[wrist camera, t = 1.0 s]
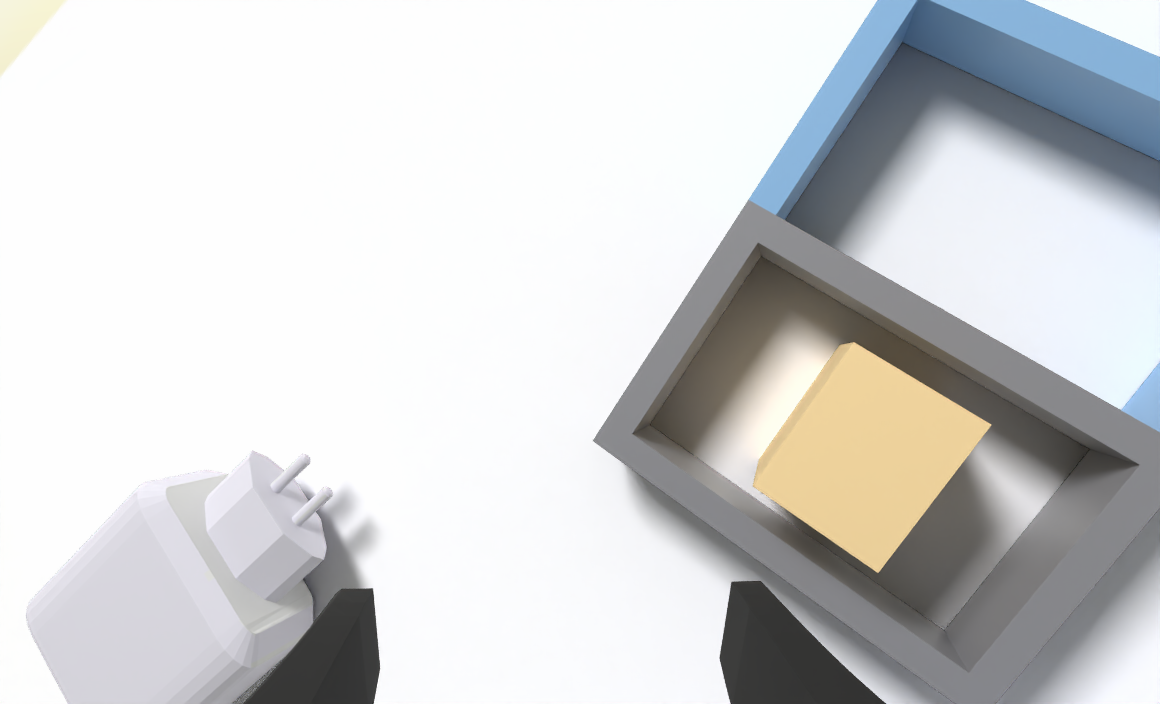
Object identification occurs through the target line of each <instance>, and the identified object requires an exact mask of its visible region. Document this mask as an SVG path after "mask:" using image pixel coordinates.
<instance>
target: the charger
mask: <svg viewBox="0 0 1160 704" xmlns="http://www.w3.org/2000/svg"><path fill="white" fill-rule="evenodd" d="M309 464H310V458H309V456H308V455H306V454H301V455H300V456H299V457H298V458H297V459H296V460H295V461H294V462H293V463H292V464H291V465H290V466H289V467H288V468H287V469H286V470H285V471H284V470H283V469H282V468H281V467H279V466H278V465H277V464H276V463H274V462H273V461H272V460H270V459H269V458H268V457H266V456H264V455H262V454H259V453H257V452H255V451H252V452H251V453H250V454H249V455H248V456H247V457H246V458H245V459H244V460H243V461H242V462H241V463H240V464H239V465H238V466H237V467H236V468H235V469H234V470H233V471H232V472H231V473H230V474H225V473H220V472H215V471H209V470H203V471H198V472H193V473H188V474H183V475H178V476H173V477H168V478H163V479H158V480H153V481H148V482H144V483H143V484H141V485H139V486H138V488H137V489H136V490H135V491H134V492H133V493H132V494H131V495H130V496H129V497H128V498H127V499H126V500H125V501H124V502H123V503H122V504H121V505H120V506H119V508H118V509H117V510H116V511H115V512H114V513H113V514H112V515H111V516H110V517H109V518H108V519H107V520H106V521H105V522H104V523H103V524H102V525H101V526H100V528H99V529H98V530H97V531H96V532H95V533H94V534H93V535H92V536H91V537H90V538H89V539H88V540H87V541H86V542H85V543H84V544H83V545H82V547H81V548H80V549H79V550H78V551H77V552H76V553H75V554H74V555H73V556H72V557H71V558H70V559H69V560H68V561H67V562H66V563H65V564H64V565H63V567H62V568H61V569H60V570H59V571H58V572H57V573H56V574H55V575H54V576H53V577H52V578H51V579H50V580H49V581H48V582H47V583H46V584H45V585H44V587H43V588H42V589H41V590H40V591H39V592H38V593H37V594H36V595H35V596H34V597H33V598H32V599H31V600H30V602H29V604H28V606H27V611H26V618H27V624H28V627H29V630H30V632H31V635H32V637H33V639H34V641H35V643H36V644H37V646H38V648H39V650H40V652H41V654H42V656H43V658H44V660H45V661H46V663H47V665H48V667H49V669H50V671H51V673H52V675H53V676H54V678H55V680H56V682H57V684H58V686H59V688H60V690H61V692H62V693H63V695H64V697H65V699H66V701H67V703H68V704H231V703H233V702H234V701H235V700H236V699H237V698H238V697H239V696H241V695H242V694H243V693H244V692H245V691H246V690H247V689H249V688H250V687H251V686H252V685H253V684H254V683H256V682H257V681H258V680H259V679H260V678H261V677H262V676H264V675H265V674H266V673H267V672H268V671H269V670H270V669H272V668H273V667H274V666H275V665H276V664H277V663H278V662H280V661H281V660H282V659H283V658H284V657H285V656H286V655H287V654H288V653H289V652H290V651H291V650H292V648H293V647H294V646H295V645H296V644H297V642H298V641H299V640H300V639H301V638H302V636H303V635H304V634H305V633H306V631H307V630H308V629H309V628H310V626H311V625H312V624H313V598H312V595H311V592H310V591H309V589H308V587H307V585H306V584H305V582H304V581H303V578H304V577H305V576H307V575H308V574H309V573H310V572H311V571H312V570H313V569H314V568H315V567H316V566H318V565H319V564H320V563H321V562H322V561H323V560H324V558H325V553H326V549H327V546H326V541H325V536H324V532H323V527H322V522H321V519H320V517H319V516H318V514H317V513H316V511H317V510H318V509H319V508H320V507H321V506H322V505H324V504H325V503H326V502H327V501H328V500H329V499H330V498H331V497H332V490H331V489H330V488H328V487H323V488H322V489H321V490H320V491H319V492H318V493H317V494H316V495H315V496H314V497H313V498H312V499H311V500H310V501H309V500H308V499H307V497H306V496H305V494H304V493H303V491H302V490H301V488H300V487H299V485H298V484H297V482H296V481H295V479H294V478H295V477H296V476H297V475H298V474H299V473H300V472H301V471H302V470H303V469H305V468H306V467H307V466H308V465H309Z"/></svg>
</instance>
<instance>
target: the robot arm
mask: <svg viewBox="0 0 1160 704" xmlns="http://www.w3.org/2000/svg"><path fill="white" fill-rule="evenodd" d="M720 662H721V666H722V671H723V675H724V679H725V683H726V688H727V691H728V695H729V699H730V703H731V704H886V703H885V702H883V701H882V700H881V699H880V698H879V697H878V696H877V695H875V694H874V693H873V692H872V691H871V690H870V689H869V688H868V687H866V686H865V685H864V684H863V683H862V682H861V681H860V680H859V679H857V678H856V677H855V676H854V675H853V674H852V673H851V672H850V671H849V670H848V669H847V668H846V667H844V666H843V665H842V664H841V663H840V662H839V661H838V660H837V659H836V658H835V657H834V656H833V655H832V654H831V653H830V652H829V651H828V650H827V649H826V648H825V647H824V646H823V645H822V644H821V643H820V642H819V641H818V640H817V639H816V638H815V637H814V636H813V635H812V634H811V633H810V632H809V631H808V630H807V629H806V628H805V627H804V626H803V625H802V624H801V623H800V622H799V621H798V620H797V619H796V618H795V617H794V616H793V615H792V613H791V612H790V611H789V610H788V609H787V608H786V607H785V606H784V605H783V604H782V603H781V602H780V601H779V600H778V599H777V598H776V597H775V596H774V595H773V594H772V592H771V591H770V590H769V589H768V588H767V587H766V586H765V585H764V584H763V583H762V582H761V581H741V582H731V589H730V595H729V602H728V608H727V614H726V621H725V627H724V633H723V640H722V646H721V652H720ZM379 671H380V661H379V650H378V639H377V628H376V616H375V605H374V594H373V588H370V589H341V590H340V591H338V592H337V593H336V594H335V596H334V597H333V598H332V599H331V601H330V602H329V603H328V605H327V606H326V607H325V609H324V610H323V611H322V612H321V614H320V615H319V616H318V618H317V619H316V620H315V621H314V623H313V624H312V625H311V626H310V628H309V629H308V630H307V631H306V633H305V634H304V635H303V636H302V638H301V639H300V640H299V641H298V642H297V644H296V645H295V646H294V647H293V648H292V650H291V651H290V652H289V653H288V654H287V655H286V657H285V658H284V659H283V660H282V661H281V662H280V664H279V665H278V666H277V667H276V668H275V669H274V671H273V672H272V673H271V674H270V675H269V676H268V677H267V679H266V680H265V681H264V682H263V683H262V684H261V685H260V686H259V687H258V688H257V689H256V691H255V692H254V693H253V694H252V695H251V696H250V697H249V698H248V699H247V700H246V701H245V702H244V703H243V704H374V699H375V693H376V688H377V682H378V677H379Z"/></svg>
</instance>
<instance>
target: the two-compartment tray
mask: <svg viewBox="0 0 1160 704" xmlns="http://www.w3.org/2000/svg"><path fill="white" fill-rule="evenodd" d="M902 42H903V43H905V44H907V45H909V46H911V47H914V48H916V49H918V50H920V51H922V52H924V53H927V54H929V55H931V56H933V57H935V58H937V59H940V60H942V61H944V62H946V63H948V64H950V65H952V66H955V67H957V68H959V69H961V70H963V71H965V72H968V73H970V74H972V75H974V76H976V77H978V78H981V79H983V80H985V81H987V82H989V83H991V84H994V85H996V86H998V87H1000V88H1002V89H1004V90H1007V91H1009V92H1011V93H1013V94H1015V95H1017V96H1020V97H1022V98H1024V99H1026V100H1028V101H1030V102H1033V103H1035V104H1037V105H1039V106H1041V107H1043V108H1046V109H1048V110H1050V111H1052V112H1054V113H1056V114H1059V115H1061V116H1063V117H1065V118H1067V119H1069V120H1072V121H1074V122H1076V123H1078V124H1080V125H1082V126H1085V127H1087V128H1089V129H1091V130H1093V131H1095V132H1098V133H1100V134H1102V135H1104V136H1106V137H1108V138H1111V139H1113V140H1115V141H1117V142H1119V143H1121V144H1124V145H1126V146H1128V147H1130V148H1132V149H1134V150H1137V151H1139V152H1141V153H1143V154H1145V155H1147V156H1150V157H1152V158H1154V159H1156V160H1158V161H1160V57H1158V56H1156V55H1154V54H1151V53H1149V52H1146V51H1144V50H1142V49H1139V48H1137V47H1135V46H1132V45H1130V44H1127V43H1125V42H1123V41H1120V40H1118V39H1116V38H1113V37H1111V36H1109V35H1106V34H1104V33H1101V32H1099V31H1097V30H1094V29H1092V28H1090V27H1087V26H1085V25H1082V24H1080V23H1078V22H1075V21H1073V20H1071V19H1068V18H1066V17H1063V16H1061V15H1059V14H1056V13H1054V12H1052V11H1049V10H1047V9H1045V8H1042V7H1040V6H1037V5H1035V4H1033V3H1030V2H1028V1H1026V0H877V2H876V3H875V5H874V7H873V8H872V10H871V11H870V13H869V14H868V16H867V17H866V19H865V20H864V22H863V24H862V25H861V27H860V28H859V30H858V31H857V33H856V34H855V36H854V38H853V39H852V41H851V42H850V44H849V45H848V47H847V48H846V50H845V51H844V53H843V55H842V56H841V58H840V59H839V61H838V62H837V64H836V65H835V67H834V68H833V70H832V72H831V73H830V75H829V76H828V78H827V79H826V81H825V82H824V84H823V85H822V87H821V89H820V90H819V92H818V93H817V95H816V96H815V98H814V99H813V101H812V102H811V104H810V106H809V107H808V109H807V110H806V112H805V113H804V115H803V116H802V118H801V119H800V121H799V123H798V124H797V126H796V127H795V129H794V130H793V132H792V133H791V135H790V137H789V138H788V140H787V141H786V143H785V144H784V146H783V147H782V149H781V150H780V152H779V154H778V155H777V157H776V158H775V160H774V161H773V163H772V164H771V166H770V167H769V169H768V171H767V172H766V174H765V175H764V177H763V178H762V180H761V181H760V183H759V184H758V186H757V188H756V189H755V191H754V192H753V194H752V195H751V197H750V198H749V200H748V201H747V203H746V205H745V206H744V208H743V209H742V211H741V212H740V214H739V215H738V217H737V218H736V220H735V222H734V223H733V225H732V226H731V228H730V229H729V231H728V232H727V234H726V236H725V237H724V239H723V240H722V242H721V243H720V245H719V246H718V248H717V249H716V251H715V253H714V254H713V256H712V257H711V259H710V260H709V262H708V263H707V265H706V266H705V268H704V270H703V271H702V273H701V274H700V276H699V277H698V279H697V280H696V282H695V283H694V285H693V287H692V288H691V290H690V291H689V293H688V294H687V296H686V297H685V299H684V300H683V302H682V304H681V305H680V307H679V308H678V310H677V311H676V313H675V314H674V316H673V318H672V319H671V321H670V322H669V324H668V325H667V327H666V328H665V330H664V331H663V333H662V335H661V336H660V338H659V339H658V341H657V342H656V344H655V345H654V347H653V348H652V350H651V352H650V353H649V355H648V356H647V358H646V359H645V361H644V362H643V364H642V365H641V367H640V369H639V370H638V372H637V373H636V375H635V376H634V378H633V379H632V381H631V382H630V384H629V386H628V387H627V389H626V390H625V392H624V393H623V395H622V396H621V398H620V399H619V401H618V403H617V404H616V406H615V407H614V409H613V410H612V412H611V413H610V415H609V417H608V418H607V420H606V421H605V423H604V424H603V426H602V427H601V429H600V430H599V432H598V434H597V435H596V437H595V438H594V440H593V441H594V442H595V443H596V444H598V445H599V446H601V447H602V448H603V449H605V450H606V451H607V452H609V453H610V454H612V455H613V456H614V457H616V458H617V459H618V460H620V461H621V462H623V463H624V464H625V465H627V466H628V467H629V468H631V469H632V470H634V471H635V472H636V473H638V474H639V475H640V476H642V477H643V478H645V479H646V480H647V481H649V482H650V483H652V484H653V485H654V486H656V487H657V488H658V489H660V490H661V491H663V492H664V493H665V494H667V495H668V496H669V497H671V498H672V499H674V500H675V501H676V502H678V503H679V504H680V505H682V506H683V507H685V508H686V509H687V510H689V511H690V512H691V513H693V514H694V515H696V516H697V517H698V518H700V519H701V520H702V521H704V522H705V523H707V524H708V525H709V526H711V527H712V528H713V529H715V530H716V531H718V532H719V533H720V534H722V535H723V536H725V537H726V538H727V539H729V540H730V541H731V542H733V543H734V544H736V545H737V546H738V547H740V548H741V549H742V550H744V551H745V552H747V553H748V554H749V555H751V556H752V557H753V558H755V559H756V560H758V561H759V562H760V563H762V564H763V565H764V566H766V567H767V568H769V569H770V570H771V571H773V572H774V573H775V574H777V575H778V576H780V577H781V578H782V579H784V580H785V581H786V582H788V583H789V584H791V585H792V586H793V587H795V588H796V589H798V590H799V591H800V592H802V593H803V594H804V595H806V596H807V597H809V598H810V599H811V600H813V601H814V602H815V603H817V604H818V605H820V606H821V607H822V608H824V609H825V610H826V611H828V612H829V613H831V614H832V615H833V616H835V617H836V618H837V619H839V620H840V621H842V622H843V623H844V624H846V625H847V626H848V627H850V628H851V629H853V630H854V631H855V632H857V633H858V634H859V635H861V636H862V637H864V638H865V639H866V640H868V641H869V642H871V643H872V644H873V645H875V646H876V647H877V648H879V649H880V650H882V651H883V652H884V653H886V654H887V655H888V656H890V657H891V658H893V659H894V660H895V661H897V662H898V663H899V664H901V665H902V666H904V667H905V668H906V669H908V670H909V671H910V672H912V673H913V674H915V675H916V676H917V677H919V678H920V679H921V680H923V681H924V682H926V683H927V684H928V685H930V686H931V687H932V688H934V689H935V690H937V691H938V692H939V693H941V694H942V695H944V696H945V697H946V698H948V699H949V700H950V701H952V702H953V703H955V704H996V703H997V702H998V700H999V699H1000V698H1001V697H1002V696H1003V694H1004V693H1005V692H1006V691H1007V690H1008V688H1009V687H1010V686H1011V685H1012V684H1013V682H1014V681H1015V680H1016V679H1017V678H1018V676H1019V675H1020V674H1021V673H1022V672H1023V671H1024V669H1025V668H1026V667H1027V666H1028V665H1029V663H1030V662H1031V661H1032V660H1033V659H1034V657H1035V656H1036V655H1037V654H1038V653H1039V651H1040V650H1041V649H1042V648H1043V647H1044V646H1045V644H1046V643H1047V642H1048V641H1049V640H1050V638H1051V637H1052V636H1053V635H1054V634H1055V632H1056V631H1057V630H1058V629H1059V628H1060V626H1061V625H1062V624H1063V623H1064V622H1065V621H1066V619H1067V618H1068V617H1069V616H1070V615H1071V613H1072V612H1073V611H1074V610H1075V609H1076V607H1077V606H1078V605H1079V604H1080V603H1081V601H1082V600H1083V599H1084V598H1085V597H1086V596H1087V594H1088V593H1089V592H1090V591H1091V590H1092V588H1093V587H1094V586H1095V585H1096V584H1097V582H1098V581H1099V580H1100V579H1101V578H1102V576H1103V575H1104V574H1105V573H1106V572H1107V571H1108V569H1109V568H1110V567H1111V566H1112V565H1113V563H1114V562H1115V561H1116V560H1117V559H1118V557H1119V556H1120V555H1121V554H1122V553H1123V551H1124V550H1125V549H1126V548H1127V547H1128V546H1129V544H1130V543H1131V542H1132V541H1133V540H1134V538H1135V537H1136V536H1137V535H1138V534H1139V532H1140V531H1141V530H1142V529H1143V528H1144V526H1145V525H1146V524H1147V523H1148V522H1149V520H1150V519H1151V518H1152V517H1153V516H1154V515H1155V513H1156V512H1157V511H1158V510H1159V509H1160V363H1159V364H1158V365H1157V366H1156V368H1155V369H1154V370H1153V371H1152V373H1151V374H1150V375H1149V376H1148V378H1147V379H1146V380H1145V381H1144V383H1143V384H1142V385H1141V386H1140V388H1139V389H1138V390H1137V391H1136V393H1135V394H1134V395H1133V396H1132V398H1131V399H1130V400H1129V401H1128V402H1127V404H1126V405H1125V406H1124V407H1123V409H1122V410H1120V409H1118V408H1116V407H1114V406H1112V405H1111V404H1109V403H1107V402H1105V401H1104V400H1102V399H1100V398H1098V397H1097V396H1095V395H1093V394H1091V393H1089V392H1088V391H1086V390H1084V389H1082V388H1081V387H1079V386H1077V385H1075V384H1074V383H1072V382H1070V381H1068V380H1066V379H1065V378H1063V377H1061V376H1059V375H1058V374H1056V373H1054V372H1052V371H1051V370H1049V369H1047V368H1045V367H1043V366H1042V365H1040V364H1038V363H1036V362H1035V361H1033V360H1031V359H1029V358H1028V357H1026V356H1024V355H1022V354H1020V353H1019V352H1017V351H1015V350H1013V349H1012V348H1010V347H1008V346H1006V345H1005V344H1003V343H1001V342H999V341H997V340H996V339H994V338H992V337H990V336H989V335H987V334H985V333H983V332H982V331H980V330H978V329H976V328H974V327H973V326H971V325H969V324H967V323H966V322H964V321H962V320H960V319H959V318H957V317H955V316H953V315H951V314H950V313H948V312H946V311H944V310H943V309H941V308H939V307H937V306H936V305H934V304H932V303H930V302H928V301H927V300H925V299H923V298H921V297H920V296H918V295H916V294H914V293H913V292H911V291H909V290H907V289H905V288H904V287H902V286H900V285H898V284H897V283H895V282H893V281H891V280H890V279H888V278H886V277H884V276H882V275H881V274H879V273H877V272H875V271H874V270H872V269H870V268H868V267H867V266H865V265H863V264H861V263H860V262H858V261H856V260H854V259H852V258H851V257H849V256H847V255H845V254H844V253H842V252H840V251H838V250H837V249H835V248H833V247H831V246H829V245H828V244H826V243H824V242H822V241H821V240H819V239H817V238H815V237H814V236H812V235H810V234H808V233H806V232H805V231H803V230H801V229H799V228H798V227H796V226H794V225H792V224H791V223H789V222H787V221H785V219H786V217H787V216H788V214H789V213H790V211H791V210H792V208H793V207H794V205H795V204H796V202H797V201H798V199H799V198H800V196H801V195H802V193H803V192H804V190H805V189H806V187H807V186H808V184H809V183H810V181H811V180H812V178H813V177H814V175H815V174H816V172H817V171H818V169H819V168H820V166H821V164H822V163H823V161H824V160H825V158H826V157H827V155H828V154H829V152H830V151H831V149H832V148H833V146H834V145H835V143H836V142H837V140H838V139H839V137H840V136H841V134H842V133H843V131H844V130H845V128H846V127H847V125H848V124H849V122H850V121H851V119H852V118H853V116H854V115H855V113H856V112H857V110H858V108H859V107H860V105H861V104H862V102H863V101H864V99H865V98H866V96H867V95H868V93H869V92H870V90H871V89H872V87H873V86H874V84H875V83H876V81H877V80H878V78H879V77H880V75H881V74H882V72H883V71H884V69H885V68H886V66H887V65H888V63H889V62H890V60H891V59H892V57H893V56H894V54H895V52H896V51H897V49H898V48H899V46H900V45H901V43H902ZM761 256H762V257H764V258H765V259H767V260H769V261H770V262H772V263H774V264H775V265H777V266H779V267H781V268H782V269H784V270H786V271H787V272H789V273H791V274H792V275H794V276H796V277H798V278H799V279H801V280H803V281H804V282H806V283H808V284H810V285H811V286H813V287H815V288H816V289H818V290H820V291H821V292H823V293H825V294H827V295H828V296H830V297H832V298H833V299H835V300H837V301H838V302H840V303H842V304H844V305H845V306H847V307H849V308H850V309H852V310H854V311H855V312H857V313H859V314H861V315H862V316H864V317H866V318H867V319H869V320H871V321H872V322H874V323H876V324H878V325H879V326H881V327H883V328H884V329H886V330H888V331H890V332H891V333H893V334H895V335H896V336H898V337H900V338H901V339H903V340H905V341H907V342H908V343H910V344H912V345H913V346H915V347H917V348H918V349H920V350H922V351H924V352H925V353H927V354H929V355H930V356H932V357H934V358H935V359H937V360H939V361H941V362H942V363H944V364H946V365H947V366H949V367H951V368H952V369H954V370H956V371H958V372H959V373H961V374H963V375H964V376H966V377H968V378H969V379H971V380H973V381H975V382H976V383H978V384H980V385H981V386H983V387H985V388H987V389H988V390H990V391H992V392H993V393H995V394H997V395H998V396H1000V397H1002V398H1004V399H1005V400H1007V401H1009V402H1010V403H1012V404H1014V405H1015V406H1017V407H1019V408H1021V409H1022V410H1024V411H1026V412H1027V413H1029V414H1031V415H1032V416H1034V417H1036V418H1038V419H1039V420H1041V421H1043V422H1044V423H1046V424H1048V425H1049V426H1051V427H1053V428H1055V429H1056V430H1058V431H1060V432H1061V433H1063V434H1065V435H1067V436H1068V437H1070V438H1072V439H1073V440H1075V441H1077V442H1078V443H1080V444H1082V445H1084V446H1085V447H1087V448H1089V449H1090V450H1089V451H1088V452H1087V454H1086V455H1085V456H1084V457H1083V459H1082V460H1081V461H1080V462H1079V464H1078V465H1077V466H1076V467H1075V469H1074V470H1073V471H1072V472H1071V474H1070V475H1069V476H1068V477H1067V478H1066V480H1065V481H1064V482H1063V483H1062V485H1061V486H1060V487H1059V488H1058V490H1057V491H1056V492H1055V493H1054V495H1053V496H1052V497H1051V498H1050V500H1049V501H1048V502H1047V503H1046V505H1045V506H1044V507H1043V508H1042V510H1041V511H1040V512H1039V513H1038V515H1037V516H1036V517H1035V518H1034V520H1033V521H1032V522H1031V523H1030V525H1029V526H1028V527H1027V528H1026V530H1025V531H1024V532H1023V533H1022V535H1021V536H1020V537H1019V538H1018V540H1017V541H1016V542H1015V543H1014V545H1013V546H1012V547H1011V548H1010V550H1009V551H1008V552H1007V553H1006V554H1005V556H1004V557H1003V558H1002V559H1001V561H1000V562H999V563H998V564H997V566H996V567H995V568H994V569H993V571H992V572H991V573H990V574H989V576H988V577H987V578H986V579H985V581H984V582H983V583H982V584H981V586H980V587H979V588H978V589H977V591H976V592H975V593H974V594H973V596H972V597H971V598H970V599H969V601H968V602H967V603H966V604H965V606H964V607H963V608H962V609H961V611H960V612H959V613H958V614H957V616H956V617H955V618H954V619H953V621H952V622H951V623H950V624H949V626H948V627H947V628H946V629H945V630H943V629H941V628H940V627H938V626H937V625H936V624H934V623H933V622H931V621H930V620H928V619H927V618H926V617H924V616H923V615H921V614H920V613H918V612H917V611H915V610H914V609H913V608H911V607H910V606H908V605H907V604H905V603H904V602H903V601H901V600H900V599H898V598H897V597H895V596H894V595H893V594H891V593H890V592H888V591H887V590H885V589H884V588H883V587H881V586H880V585H878V584H877V583H875V582H874V581H873V580H871V579H870V578H868V577H867V576H865V575H864V574H863V573H861V572H860V571H858V570H857V569H855V568H854V567H853V566H851V565H850V564H848V563H847V562H845V561H844V560H842V559H841V558H840V557H838V556H837V555H835V554H834V553H832V552H831V551H830V550H828V549H827V548H825V547H824V546H822V545H821V544H820V543H818V542H817V541H815V540H814V539H812V538H811V537H810V536H808V535H807V534H805V533H804V532H802V531H801V530H800V529H798V528H797V527H795V526H794V525H792V524H791V523H790V522H788V521H787V520H785V519H784V518H782V517H781V516H780V515H778V514H777V513H775V512H774V511H772V510H771V509H770V508H768V507H767V506H765V505H764V504H762V503H761V502H759V501H758V500H757V499H755V498H754V497H752V496H751V495H749V494H748V493H747V492H745V491H744V490H742V489H741V488H739V487H738V486H737V485H735V484H734V483H732V482H731V481H729V480H728V479H727V478H725V477H724V476H722V475H721V474H719V473H718V472H717V471H715V470H714V469H712V468H711V467H709V466H708V465H707V464H705V463H704V462H702V461H701V460H699V459H698V458H697V457H695V456H694V455H692V454H691V453H689V452H688V451H687V450H685V449H684V448H682V447H681V446H679V445H678V444H676V443H675V442H674V441H672V440H671V439H669V438H668V437H666V436H665V435H664V434H662V433H661V432H659V431H658V430H656V429H655V428H654V427H652V426H651V425H650V423H651V422H652V420H653V419H654V417H655V416H656V414H657V413H658V411H659V410H660V408H661V407H662V405H663V404H664V402H665V401H666V399H667V398H668V396H669V395H670V393H671V391H672V390H673V388H674V387H675V385H676V384H677V382H678V381H679V379H680V378H681V376H682V375H683V373H684V372H685V370H686V369H687V367H688V366H689V364H690V363H691V361H692V360H693V358H694V357H695V355H696V354H697V352H698V351H699V349H700V348H701V346H702V345H703V343H704V342H705V340H706V339H707V337H708V335H709V334H710V332H711V331H712V329H713V328H714V326H715V325H716V323H717V322H718V320H719V319H720V317H721V316H722V314H723V313H724V311H725V310H726V308H727V307H728V305H729V304H730V302H731V301H732V299H733V298H734V296H735V295H736V293H737V292H738V290H739V289H740V287H741V286H742V284H743V283H744V281H745V279H746V278H747V276H748V275H749V273H750V272H751V270H752V269H753V267H754V266H755V264H756V263H757V261H758V260H759V258H760V257H761Z"/></svg>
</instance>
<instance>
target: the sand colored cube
mask: <svg viewBox="0 0 1160 704" xmlns="http://www.w3.org/2000/svg"><path fill="white" fill-rule="evenodd" d="M990 426H991V424H989V423H988V422H986V421H984V420H983V419H981V418H979V417H978V416H976V415H974V414H973V413H971V412H969V411H968V410H966V409H964V408H963V407H961V406H959V405H958V404H956V403H954V402H953V401H951V400H949V399H948V398H946V397H944V396H943V395H941V394H939V393H938V392H936V391H934V390H933V389H931V388H929V387H928V386H926V385H924V384H923V383H921V382H919V381H918V380H916V379H914V378H913V377H911V376H909V375H908V374H906V373H904V372H903V371H901V370H900V369H898V368H896V367H895V366H893V365H891V364H890V363H888V362H886V361H885V360H883V359H881V358H880V357H878V356H876V355H875V354H873V353H871V352H870V351H868V350H866V349H865V348H863V347H861V346H860V345H858V344H856V343H855V342H853V343H847V344H841V345H839V346H838V348H837V349H836V350H835V352H834V353H833V355H832V356H831V358H830V359H829V360H828V362H827V363H826V365H825V366H824V368H823V369H822V370H821V372H820V373H819V375H818V376H817V378H816V379H815V380H814V382H813V383H812V385H811V386H810V388H809V389H808V390H807V392H806V393H805V395H804V396H803V398H802V399H801V400H800V402H799V403H798V405H797V406H796V407H795V409H794V410H793V412H792V413H791V415H790V416H789V417H788V419H787V420H786V422H785V423H784V425H783V426H782V427H781V429H780V430H779V432H778V433H777V435H776V436H775V437H774V439H773V440H772V442H771V443H770V445H769V446H768V447H767V449H766V450H765V452H764V453H763V455H762V456H761V457H760V459H759V461H758V466H757V470H756V474H755V478H754V483H753V487H755V488H756V489H758V490H759V491H760V492H762V493H763V494H765V495H766V496H768V497H769V498H770V499H772V500H773V501H775V502H776V503H778V504H779V505H781V506H782V507H783V508H785V509H786V510H788V511H789V512H791V513H792V514H794V515H795V516H796V517H798V518H799V519H801V520H802V521H804V522H805V523H807V524H808V525H809V526H811V527H812V528H814V529H815V530H817V531H818V532H819V533H821V534H822V535H824V536H825V537H827V538H828V539H830V540H831V541H832V542H834V543H835V544H837V545H838V546H840V547H841V548H843V549H844V550H845V551H847V552H848V553H850V554H851V555H853V556H854V557H856V558H857V559H858V560H860V561H861V562H863V563H864V564H866V565H867V566H869V567H870V568H871V569H873V570H874V571H876V572H877V573H879V571H880V570H881V569H882V567H883V566H884V565H885V564H886V562H887V561H888V560H889V558H890V557H891V556H892V554H893V553H894V552H895V550H896V549H897V548H898V547H899V545H900V544H901V543H902V541H903V540H904V539H905V537H906V536H907V535H908V534H909V532H910V531H911V530H912V528H913V527H914V526H915V524H916V523H917V522H918V520H919V519H920V518H921V517H922V515H923V514H924V513H925V511H926V510H927V509H928V507H929V506H930V505H931V503H932V502H933V501H934V500H935V498H936V497H937V496H938V494H939V493H940V492H941V490H942V489H943V488H944V486H945V485H946V484H947V483H948V481H949V480H950V479H951V477H952V476H953V475H954V473H955V472H956V471H957V469H958V468H959V467H960V466H961V464H962V463H963V462H964V460H965V459H966V458H967V456H968V455H969V454H970V453H971V451H972V450H973V449H974V447H975V446H976V445H977V443H978V442H979V441H980V439H981V438H982V437H983V436H984V434H985V433H986V432H987V430H988V429H989V428H990Z"/></svg>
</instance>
